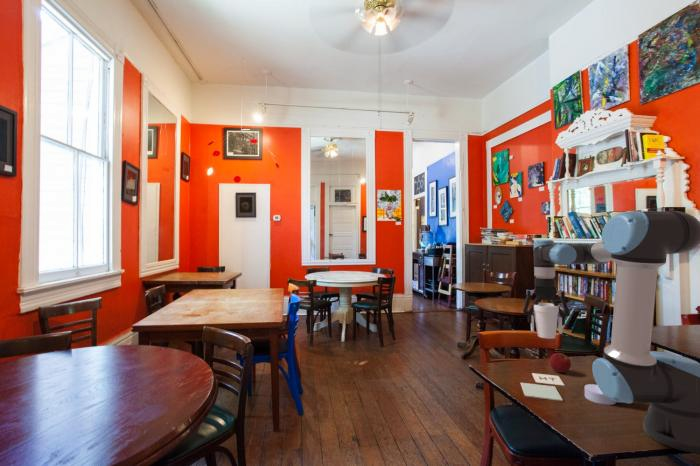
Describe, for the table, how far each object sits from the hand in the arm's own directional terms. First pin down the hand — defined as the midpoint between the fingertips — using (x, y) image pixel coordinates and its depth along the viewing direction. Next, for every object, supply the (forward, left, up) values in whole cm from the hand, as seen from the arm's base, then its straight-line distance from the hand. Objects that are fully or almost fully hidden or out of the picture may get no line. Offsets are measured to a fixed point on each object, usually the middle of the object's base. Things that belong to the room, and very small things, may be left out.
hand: (546, 332), depth 140 cm
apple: (+11, -7, -19) cm, 23 cm away
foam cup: (0, 0, -2) cm, 2 cm away
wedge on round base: (-14, -16, -20) cm, 29 cm away
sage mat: (-14, +5, -19) cm, 24 cm away
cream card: (0, 0, -19) cm, 19 cm away
